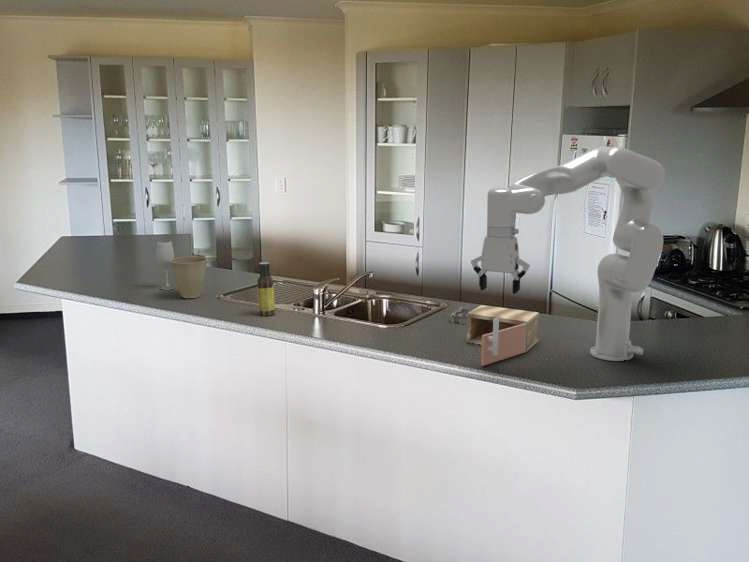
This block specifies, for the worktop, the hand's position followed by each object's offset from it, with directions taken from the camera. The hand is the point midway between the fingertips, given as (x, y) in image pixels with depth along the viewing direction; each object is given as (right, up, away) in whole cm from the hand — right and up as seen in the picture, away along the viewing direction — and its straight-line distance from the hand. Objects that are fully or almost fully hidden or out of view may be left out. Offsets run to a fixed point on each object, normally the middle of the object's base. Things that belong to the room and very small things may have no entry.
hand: (499, 291), depth 202 cm
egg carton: (-3, -12, +55) cm, 56 cm away
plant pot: (-113, -4, +92) cm, 145 cm away
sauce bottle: (-77, -10, +65) cm, 101 cm away
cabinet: (+6, -17, +29) cm, 34 cm away
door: (+5, -21, +11) cm, 24 cm away
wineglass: (-127, -1, +107) cm, 166 cm away
